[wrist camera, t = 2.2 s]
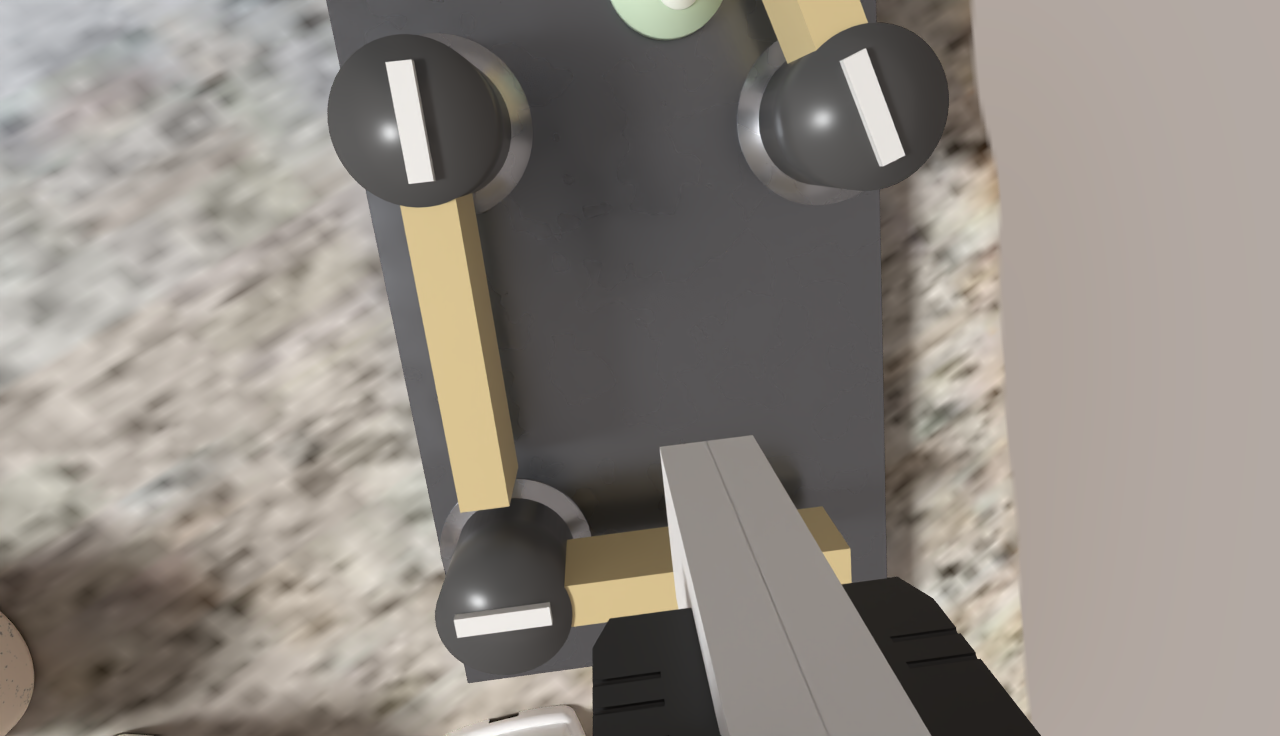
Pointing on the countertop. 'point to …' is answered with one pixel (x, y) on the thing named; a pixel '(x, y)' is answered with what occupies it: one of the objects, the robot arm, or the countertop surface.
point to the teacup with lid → (13, 675)
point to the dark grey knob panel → (648, 274)
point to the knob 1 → (438, 227)
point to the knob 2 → (561, 582)
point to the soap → (529, 724)
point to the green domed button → (665, 16)
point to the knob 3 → (850, 97)
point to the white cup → (133, 735)
